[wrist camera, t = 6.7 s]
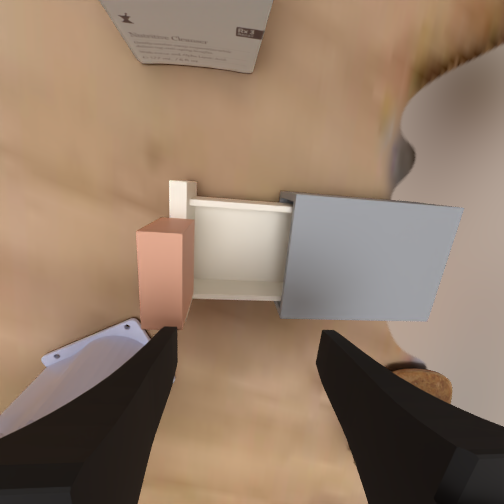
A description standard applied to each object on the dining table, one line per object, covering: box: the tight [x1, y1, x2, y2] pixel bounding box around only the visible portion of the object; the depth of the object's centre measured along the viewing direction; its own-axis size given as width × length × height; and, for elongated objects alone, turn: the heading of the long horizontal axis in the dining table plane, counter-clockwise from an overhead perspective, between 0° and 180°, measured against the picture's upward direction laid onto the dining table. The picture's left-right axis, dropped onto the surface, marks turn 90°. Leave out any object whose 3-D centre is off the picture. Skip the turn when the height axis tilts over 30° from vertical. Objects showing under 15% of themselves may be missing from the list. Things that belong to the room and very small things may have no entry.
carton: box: [274, 191, 464, 321], centre depth 20 cm, size 12×9×5 cm
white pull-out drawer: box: [136, 180, 293, 330], centre depth 16 cm, size 13×9×9 cm
